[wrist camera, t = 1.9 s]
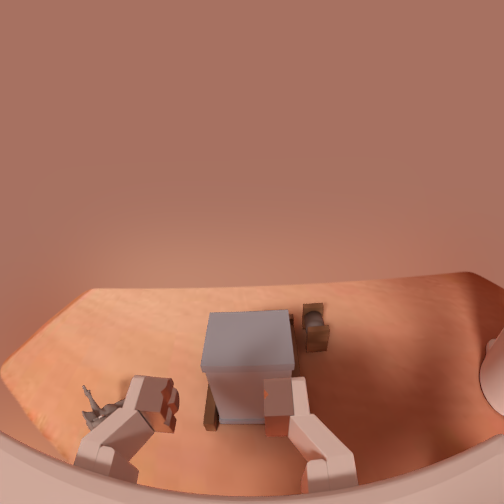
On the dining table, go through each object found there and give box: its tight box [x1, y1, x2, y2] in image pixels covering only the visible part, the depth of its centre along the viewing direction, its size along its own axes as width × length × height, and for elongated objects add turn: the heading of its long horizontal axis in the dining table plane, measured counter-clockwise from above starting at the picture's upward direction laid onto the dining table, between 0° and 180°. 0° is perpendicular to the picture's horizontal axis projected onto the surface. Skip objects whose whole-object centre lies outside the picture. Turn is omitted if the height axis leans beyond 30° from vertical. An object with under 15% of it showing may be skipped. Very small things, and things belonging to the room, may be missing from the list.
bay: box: [203, 303, 330, 431], centre depth 37 cm, size 16×19×4 cm
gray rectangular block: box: [201, 310, 295, 424], centre depth 31 cm, size 8×7×12 cm
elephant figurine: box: [82, 385, 125, 431], centre depth 29 cm, size 10×6×9 cm
